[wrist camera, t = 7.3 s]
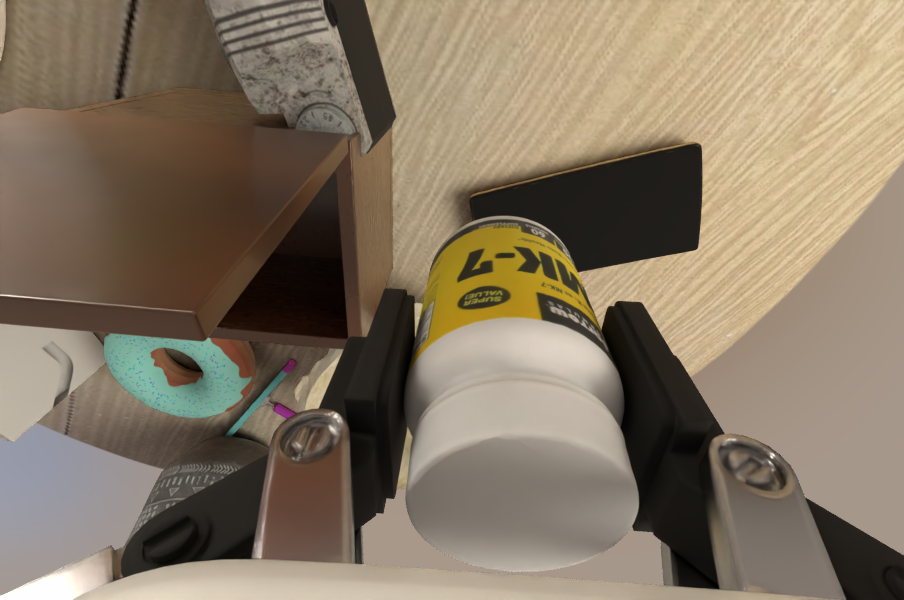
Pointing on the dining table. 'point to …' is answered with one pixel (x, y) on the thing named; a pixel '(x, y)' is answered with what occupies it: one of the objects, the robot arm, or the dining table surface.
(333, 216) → the chest
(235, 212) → the lid
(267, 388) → the teal t-shaped tool
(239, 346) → the donut
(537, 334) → the supplement bottle
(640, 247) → the smartphone
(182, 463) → the planter
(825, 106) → the dining table surface
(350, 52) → the camera
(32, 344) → the grey square panel
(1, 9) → the plate
